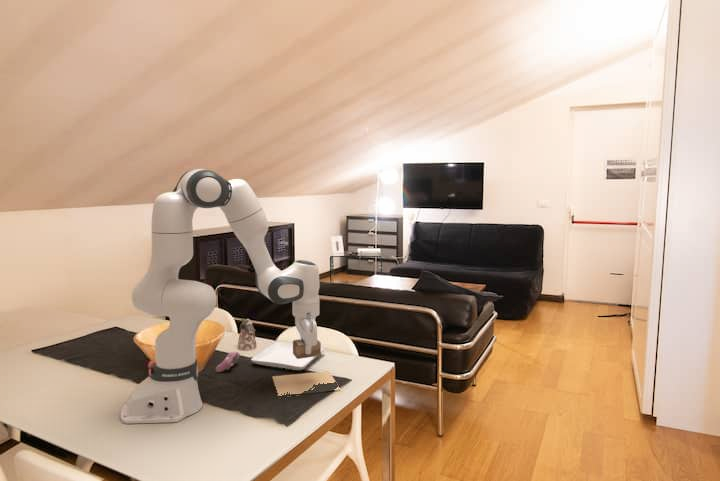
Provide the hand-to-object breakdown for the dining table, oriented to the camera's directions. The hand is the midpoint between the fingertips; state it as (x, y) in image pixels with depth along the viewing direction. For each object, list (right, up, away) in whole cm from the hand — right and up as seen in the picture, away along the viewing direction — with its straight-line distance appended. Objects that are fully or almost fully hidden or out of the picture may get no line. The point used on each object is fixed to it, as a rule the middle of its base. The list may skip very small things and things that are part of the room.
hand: (306, 349), depth 171 cm
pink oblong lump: (-29, -10, +14) cm, 34 cm away
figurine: (-27, -7, +36) cm, 46 cm away
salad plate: (-9, -9, +23) cm, 26 cm away
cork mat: (0, -12, +1) cm, 12 cm away
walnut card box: (0, -2, 0) cm, 2 cm away
